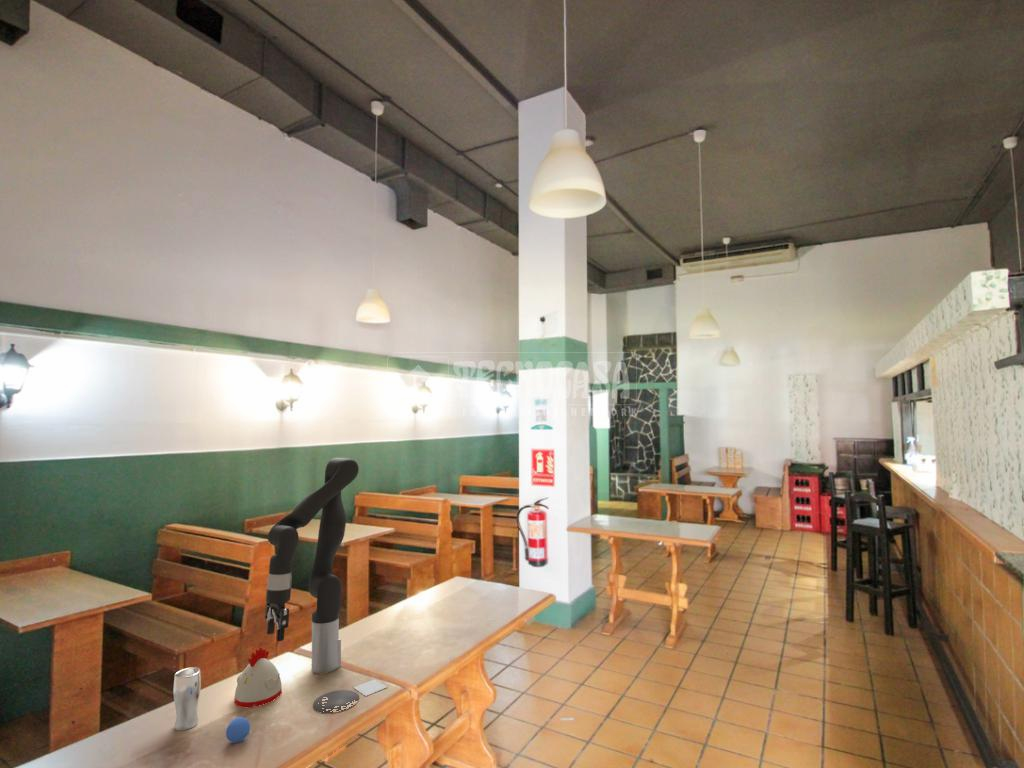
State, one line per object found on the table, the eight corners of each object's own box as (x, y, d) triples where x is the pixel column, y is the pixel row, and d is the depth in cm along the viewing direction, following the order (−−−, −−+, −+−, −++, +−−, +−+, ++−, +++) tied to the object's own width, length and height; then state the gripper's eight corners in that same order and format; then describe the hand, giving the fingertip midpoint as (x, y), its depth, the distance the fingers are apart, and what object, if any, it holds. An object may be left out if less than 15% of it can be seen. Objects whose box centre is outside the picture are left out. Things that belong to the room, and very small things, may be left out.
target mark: (346, 686, 179) (346, 685, 179) (367, 701, 169) (367, 700, 169) (305, 702, 169) (305, 701, 170) (325, 718, 160) (325, 718, 160)
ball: (245, 732, 153) (246, 710, 154) (253, 740, 149) (253, 718, 150) (222, 741, 149) (223, 718, 150) (229, 750, 145) (230, 727, 145)
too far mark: (375, 679, 183) (375, 679, 183) (387, 687, 178) (387, 687, 178) (353, 688, 178) (353, 687, 178) (365, 696, 172) (365, 695, 172)
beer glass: (180, 734, 153) (181, 680, 154) (167, 727, 157) (169, 674, 158) (204, 722, 159) (205, 670, 160) (192, 716, 163) (193, 665, 164)
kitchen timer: (224, 704, 169) (225, 655, 170) (256, 683, 183) (257, 638, 184) (260, 710, 165) (260, 660, 166) (290, 688, 178) (291, 642, 180)
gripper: (298, 589, 177) (294, 640, 175) (282, 580, 187) (278, 629, 185) (275, 592, 172) (271, 646, 170) (259, 583, 182) (255, 633, 180)
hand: (275, 637), depth 177 cm, fingers open, 8 cm apart
